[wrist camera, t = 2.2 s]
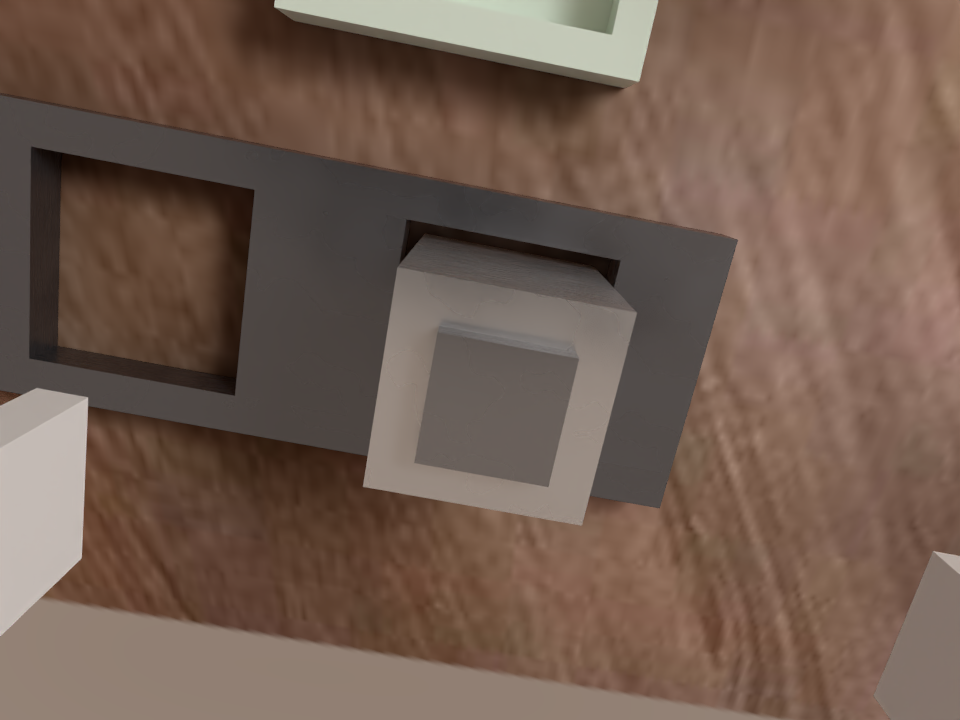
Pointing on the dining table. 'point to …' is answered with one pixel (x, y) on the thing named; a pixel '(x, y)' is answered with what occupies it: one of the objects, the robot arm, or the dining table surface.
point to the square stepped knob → (497, 379)
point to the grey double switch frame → (336, 288)
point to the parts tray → (504, 31)
